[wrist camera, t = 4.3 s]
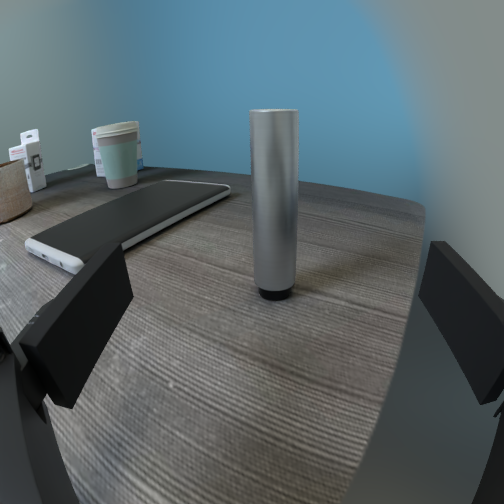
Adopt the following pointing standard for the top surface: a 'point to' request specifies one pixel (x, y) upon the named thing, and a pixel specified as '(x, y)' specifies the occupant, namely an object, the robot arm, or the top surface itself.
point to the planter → (13, 191)
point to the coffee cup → (119, 153)
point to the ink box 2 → (97, 155)
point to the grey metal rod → (274, 199)
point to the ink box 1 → (30, 159)
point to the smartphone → (122, 221)
